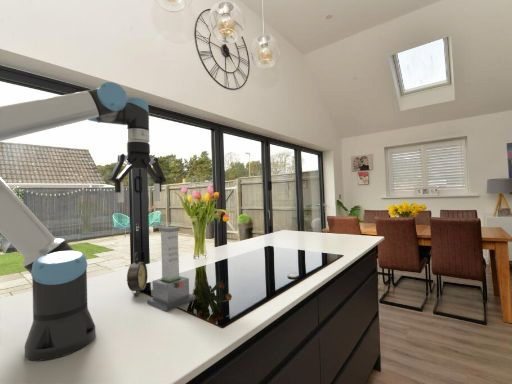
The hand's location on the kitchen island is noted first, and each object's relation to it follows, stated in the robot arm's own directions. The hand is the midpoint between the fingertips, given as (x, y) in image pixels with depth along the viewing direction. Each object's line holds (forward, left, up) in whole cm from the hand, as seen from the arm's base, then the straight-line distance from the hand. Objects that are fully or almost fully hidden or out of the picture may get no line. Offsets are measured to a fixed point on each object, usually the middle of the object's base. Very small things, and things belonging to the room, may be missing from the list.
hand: (140, 201), depth 95 cm
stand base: (+7, -7, -37) cm, 38 cm away
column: (+7, -7, -29) cm, 31 cm away
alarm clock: (+5, +13, -37) cm, 39 cm away
